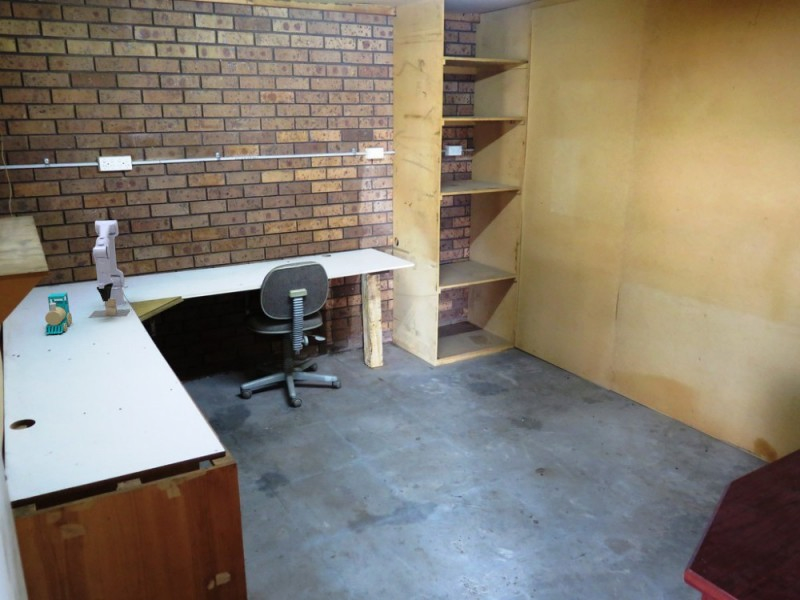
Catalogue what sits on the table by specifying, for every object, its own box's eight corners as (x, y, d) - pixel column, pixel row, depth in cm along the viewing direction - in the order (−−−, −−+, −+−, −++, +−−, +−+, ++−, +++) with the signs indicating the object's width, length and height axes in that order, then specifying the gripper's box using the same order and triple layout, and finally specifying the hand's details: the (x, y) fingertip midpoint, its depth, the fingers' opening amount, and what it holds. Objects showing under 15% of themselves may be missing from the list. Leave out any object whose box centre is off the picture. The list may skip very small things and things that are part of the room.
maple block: (108, 313, 300) (106, 298, 298) (117, 313, 300) (115, 298, 299) (106, 315, 296) (104, 300, 294) (115, 315, 297) (113, 300, 295)
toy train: (43, 336, 266) (39, 302, 263) (53, 325, 282) (49, 293, 278) (63, 334, 268) (59, 301, 265) (72, 324, 284) (69, 292, 280)
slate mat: (94, 311, 304) (94, 310, 304) (131, 310, 308) (131, 309, 308) (88, 318, 292) (88, 317, 292) (126, 317, 296) (126, 316, 296)
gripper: (109, 274, 280) (112, 303, 283) (116, 268, 294) (118, 296, 297) (92, 275, 278) (95, 304, 282) (99, 268, 292) (103, 296, 296)
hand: (106, 300), depth 289 cm, fingers open, 4 cm apart
